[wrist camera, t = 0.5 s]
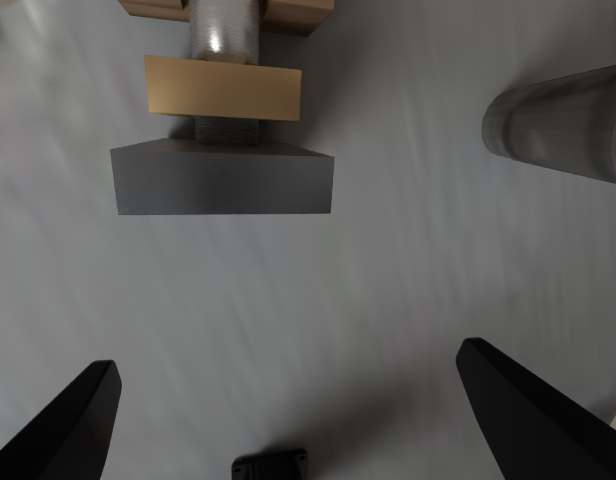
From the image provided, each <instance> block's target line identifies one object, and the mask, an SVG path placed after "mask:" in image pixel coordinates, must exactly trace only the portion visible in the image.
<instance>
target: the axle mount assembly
mask: <svg viewBox="0 0 616 480" xmlns="http://www.w3.org/2000/svg"><path fill="white" fill-rule="evenodd" d="M189 15H190V35H191V55H192V60H203V61H213V62H223V63H234V64H244V65H254V66H259V0H189ZM195 134H196V140H194V139H171V138H162V139H158V140H153V141H148V142H143V143H139V144H134V145H129V146H125V147H120V148H115V149H110V153H111V161H112V169H113V177H114V185H115V193H116V200H117V208H118V215H200V214H327V213H331V199H332V186H333V172H334V158H335V157H332V156H328V155H325V154H321V153H318V152H314V151H310V150H307V149H303V148H300V147H296V146H293V145H289V144H285V143H265V142H259V119H245V118H228V117H211V116H195Z"/></svg>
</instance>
